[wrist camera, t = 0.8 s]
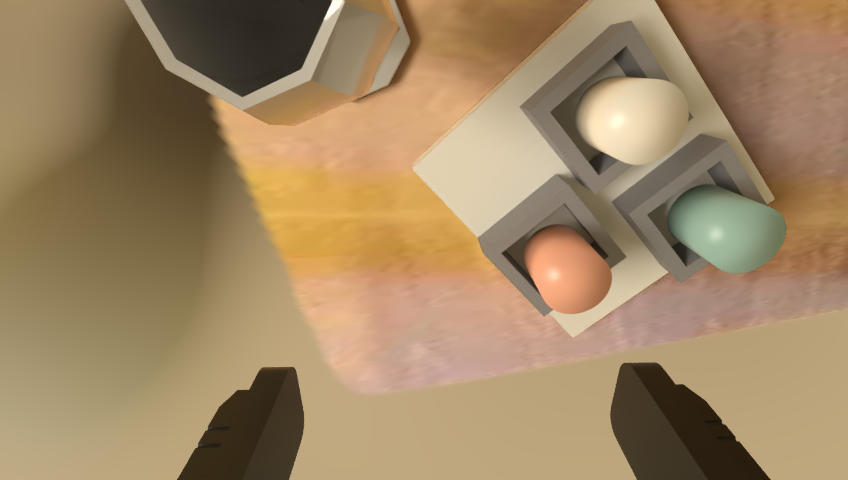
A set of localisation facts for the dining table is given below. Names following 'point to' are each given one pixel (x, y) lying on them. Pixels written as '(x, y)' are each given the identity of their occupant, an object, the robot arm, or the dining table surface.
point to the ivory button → (632, 118)
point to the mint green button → (726, 228)
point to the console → (586, 157)
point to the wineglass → (278, 50)
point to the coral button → (566, 269)
